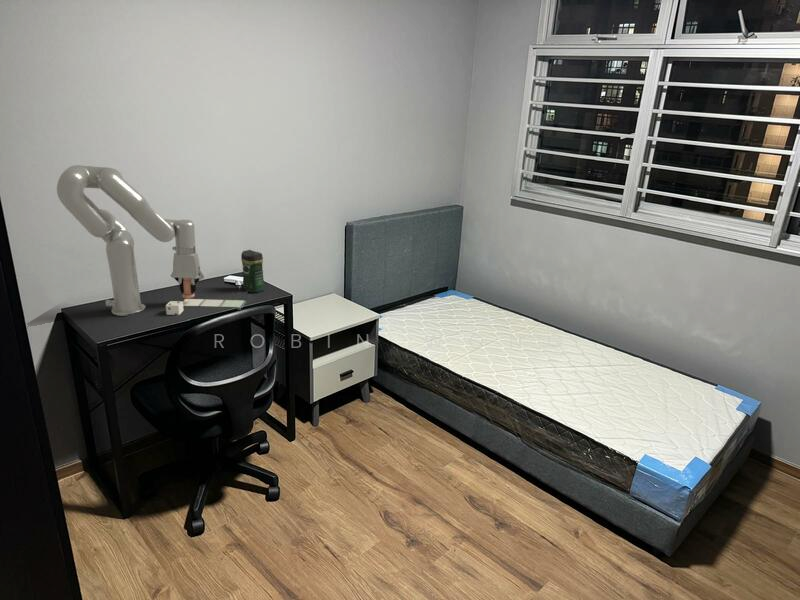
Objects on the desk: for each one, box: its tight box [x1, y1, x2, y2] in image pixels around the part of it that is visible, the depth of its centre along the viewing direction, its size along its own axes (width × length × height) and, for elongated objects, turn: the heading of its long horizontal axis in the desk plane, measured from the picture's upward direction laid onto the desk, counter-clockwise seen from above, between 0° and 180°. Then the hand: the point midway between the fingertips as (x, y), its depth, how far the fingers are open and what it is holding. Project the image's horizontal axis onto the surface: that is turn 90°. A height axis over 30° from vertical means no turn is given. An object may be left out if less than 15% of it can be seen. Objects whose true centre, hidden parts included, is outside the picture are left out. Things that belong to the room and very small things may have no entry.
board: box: [183, 298, 247, 311], centre depth 238 cm, size 26×9×1 cm, turn 91°
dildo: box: [181, 278, 195, 299], centre depth 234 cm, size 5×5×11 cm
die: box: [165, 300, 185, 316], centre depth 226 cm, size 5×5×5 cm
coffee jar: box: [241, 249, 265, 293], centre depth 255 cm, size 10×8×19 cm
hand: (188, 292), depth 236 cm, fingers closed on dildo, 3 cm apart
